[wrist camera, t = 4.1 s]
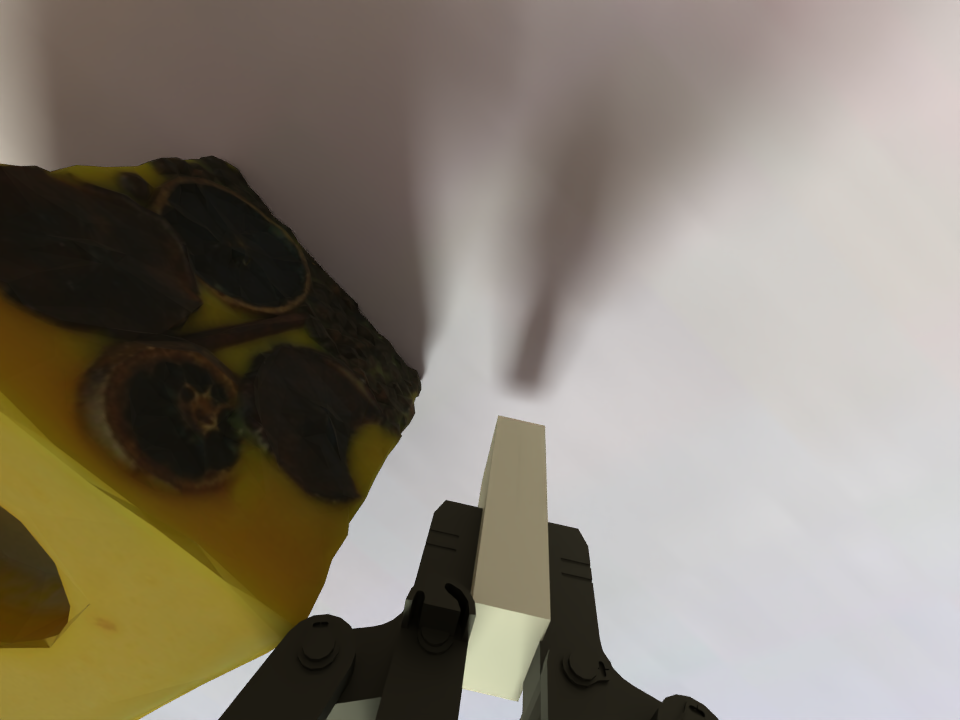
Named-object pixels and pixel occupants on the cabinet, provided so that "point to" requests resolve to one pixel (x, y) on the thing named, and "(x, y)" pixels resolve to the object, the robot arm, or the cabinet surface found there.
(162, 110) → the cabinet surface
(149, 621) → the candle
